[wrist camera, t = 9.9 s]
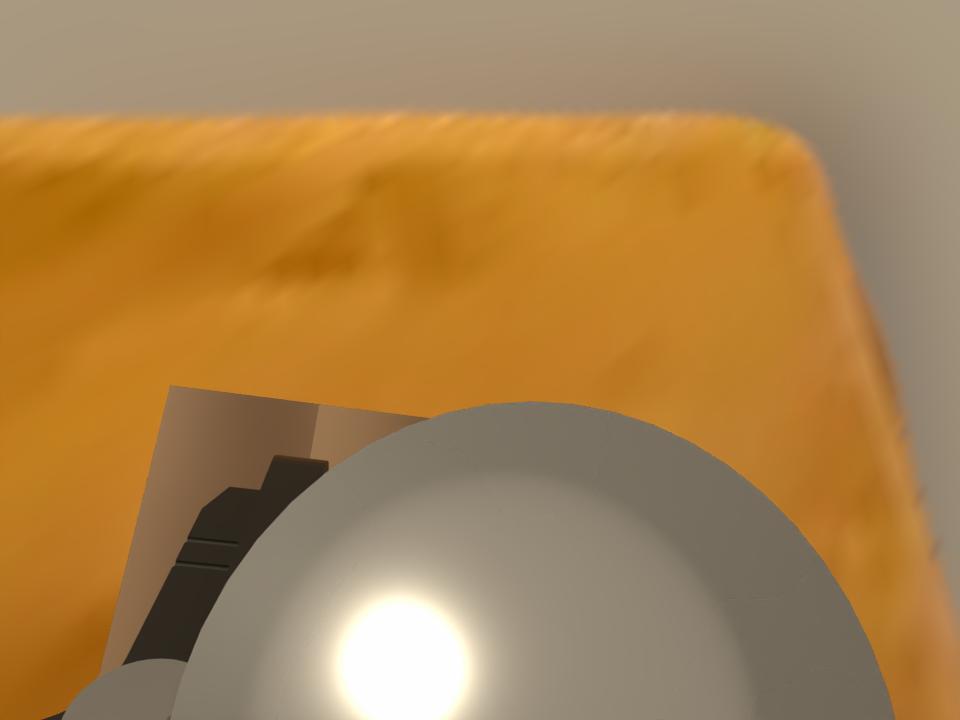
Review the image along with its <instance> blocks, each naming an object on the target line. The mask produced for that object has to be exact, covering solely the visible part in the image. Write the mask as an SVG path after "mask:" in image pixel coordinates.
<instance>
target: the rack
mask: <svg viewBox="0 0 960 720" xmlns="http://www.w3.org/2000/svg"><path fill="white" fill-rule="evenodd" d="M427 419H430V418H423V417H415V416H407V415H399V414H391V413H384V412H376V411H368V410H360V409H352V408H344V407H336V406H329V405H321V404H313V403H305V402H297V401H289V400H282V399H274V398H266V397H258V396H250V395H242V394H234V393H227V392H219V391H211V390H203V389H195V388H187V387H180V386H172V385H170V389H169V393H168V397H167V401H166V405H165V409H164V413H163V418H162V422H161V426H160V430H159V434H158V438H157V442H156V446H155V450H154V454H153V458H152V462H151V466H150V470H149V475H148V479H147V483H146V487H145V491H144V495H143V499H142V503H141V507H140V511H139V515H138V519H137V523H136V527H135V532H134V536H133V540H132V544H131V548H130V552H129V556H128V560H127V564H126V568H125V572H124V576H123V580H122V584H121V589H120V593H119V597H118V601H117V605H116V609H115V613H114V617H113V621H112V625H111V629H110V633H109V637H108V642H107V646H106V650H105V654H104V658H103V662H102V666H101V670H100V674H99V677H100V676H102V675H104V674H106V673H107V672H109V671H111V670H113V669H116V668H118V667H120V666H122V664H123V662H124V661H125V659H126V657H127V655H128V653H129V651H130V649H131V647H132V645H133V643H134V641H135V639H136V637H137V635H138V634H139V632H140V630H141V628H142V626H143V624H144V622H145V620H146V618H147V616H148V614H149V612H150V610H151V608H152V606H153V604H154V602H155V600H156V598H157V596H158V594H159V592H160V590H161V588H162V586H163V584H164V582H165V580H166V578H167V576H168V574H169V572H170V570H171V568H172V566H175V562H176V558H177V556H178V554H179V552H180V550H181V549H182V547H183V545H184V543H185V542H187V537H188V535H189V533H190V531H191V529H192V527H193V525H194V523H195V521H196V519H197V517H198V515H199V513H200V511H201V509H202V508H203V507H204V506H206V505H207V504H208V503H209V502H211V501H212V500H213V499H214V498H216V497H217V496H218V495H220V494H221V493H222V492H223V491H225V490H226V489H227V488H228V487H238V488H247V489H256V490H260V489H261V486H262V484H263V481H264V479H265V476H266V474H267V471H268V469H269V466H270V464H271V461H272V459H273V457H274V456H275V455H284V456H292V457H301V458H310V459H318V460H327V461H328V462H329V470H330V469H332V468H333V467H335V466H336V465H338V464H340V463H341V462H343V461H344V460H346V459H347V458H349V457H350V456H352V455H353V454H355V453H356V452H358V451H359V450H361V449H362V448H364V447H365V446H367V445H369V444H371V443H373V442H375V441H378V440H380V439H382V438H384V437H386V436H388V435H390V434H392V433H394V432H396V431H398V430H400V429H402V428H404V427H406V426H409V425H412V424H415V423H418V422H421V421H424V420H427Z"/></svg>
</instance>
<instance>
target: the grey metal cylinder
mask: <svg viewBox="0 0 960 720" xmlns="http://www.w3.org/2000/svg"><path fill="white" fill-rule="evenodd" d="M170 720H895V717H894V713H893V709H892V705H891V701H890V697H889V693H888V690H887V688H886V685H885V682H884V679H883V677H882V674H881V671H880V669H879V666H878V663H877V661H876V658H875V655H874V653H873V650H872V647H871V644H870V642H869V640H868V638H867V636H866V634H865V632H864V630H863V628H862V626H861V624H860V622H859V620H858V618H857V616H856V614H855V612H854V610H853V608H852V606H851V604H850V602H849V600H848V599H847V597H846V595H845V594H844V592H843V591H842V589H841V588H840V586H839V584H838V583H837V581H836V580H835V578H834V577H833V575H832V573H831V572H830V570H829V569H828V567H827V566H826V564H825V563H824V561H823V560H822V558H821V557H820V556H819V555H818V553H817V552H816V551H815V550H814V548H813V547H812V546H811V545H810V543H809V542H808V541H807V540H806V538H805V537H804V536H803V535H802V533H801V532H800V531H799V530H798V528H797V527H796V526H795V525H794V524H793V523H792V522H791V521H790V520H789V519H788V518H787V517H786V516H785V515H784V514H783V513H782V512H781V511H780V510H779V509H778V508H777V507H776V506H775V505H774V504H773V503H772V502H771V501H770V500H769V499H768V498H767V497H766V496H765V495H764V494H763V493H762V492H761V491H760V490H759V489H757V488H756V487H755V486H754V485H752V484H751V483H750V482H749V481H747V480H746V479H745V478H744V477H742V476H741V475H740V474H738V473H737V472H736V471H735V470H733V469H732V468H731V467H730V466H728V465H727V464H725V463H724V462H722V461H720V460H719V459H717V458H716V457H714V456H712V455H711V454H709V453H708V452H706V451H704V450H703V449H701V448H700V447H698V446H696V445H695V444H693V443H691V442H689V441H687V440H685V439H683V438H681V437H679V436H676V435H674V434H672V433H670V432H668V431H666V430H663V429H661V428H659V427H657V426H655V425H653V424H649V423H646V422H643V421H640V420H637V419H634V418H631V417H628V416H625V415H622V414H619V413H616V412H612V411H607V410H601V409H596V408H591V407H586V406H580V405H575V404H564V403H548V402H516V403H501V404H488V405H483V406H478V407H473V408H468V409H463V410H458V411H453V412H448V413H445V414H442V415H439V416H436V417H433V418H430V419H427V420H424V421H421V422H418V423H415V424H412V425H409V426H406V427H404V428H402V429H400V430H398V431H396V432H394V433H392V434H390V435H388V436H386V437H384V438H382V439H380V440H378V441H375V442H373V443H371V444H369V445H367V446H365V447H364V448H362V449H361V450H359V451H358V452H356V453H355V454H353V455H352V456H350V457H349V458H347V459H346V460H344V461H343V462H341V463H340V464H338V465H336V466H335V467H333V468H332V469H330V470H329V471H327V472H326V473H325V474H324V475H323V476H322V477H320V478H319V479H318V480H317V481H316V482H314V483H313V484H312V485H311V486H310V487H309V488H307V489H306V490H305V491H304V492H303V493H302V494H300V495H299V496H298V497H297V498H296V499H295V500H293V501H292V502H291V503H290V504H289V505H288V506H287V507H286V509H285V510H284V511H283V512H282V513H281V514H280V515H279V516H278V517H277V518H276V519H275V521H274V522H273V523H272V524H271V525H270V526H269V527H268V528H267V529H266V530H265V531H264V533H263V534H262V535H261V536H260V537H259V538H258V539H257V541H256V542H255V543H254V545H253V546H252V548H251V549H250V550H249V552H248V553H247V554H246V556H245V557H244V559H243V560H242V561H241V563H240V564H239V566H238V567H237V568H236V570H235V571H234V573H233V574H232V575H231V577H230V578H229V580H228V581H227V583H226V585H225V587H224V588H223V590H222V592H221V594H220V596H219V597H218V599H217V601H216V603H215V605H214V607H213V608H212V610H211V612H210V614H209V616H208V617H207V619H206V621H205V623H204V625H203V627H202V629H201V631H200V634H199V636H198V639H197V641H196V643H195V646H194V648H193V651H192V653H191V656H190V658H189V661H188V663H187V666H186V668H185V671H184V673H183V676H182V678H181V681H180V685H179V688H178V692H177V696H176V699H175V703H174V707H173V710H172V714H171V718H170Z"/></svg>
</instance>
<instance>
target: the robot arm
mask: <svg viewBox="0 0 960 720" xmlns="http://www.w3.org/2000/svg"><path fill="white" fill-rule="evenodd" d="M327 471H329V462H328V461H327V460H318V459H310V458H301V457H292V456H284V455H275V456H274V457H273V459H272V461H271V464H270V466H269V469H268V471H267V474H266V476H265V479H264V481H263V484H262V486H261V489H260V490H256V489H247V488H238V487H228V488H227V489H226V490H225V491H223V492H222V493H221V494H220V495H218V496H217V497H216V498H214V499H213V500H212V501H211V502H209V503H208V504H207V505H206V506H204V507H203V508H202V509H201V511H200V513H199V515H198V517H197V519H196V521H195V523H194V525H193V527H192V529H191V531H190V533H189V535H188V537H187V542H185V543H184V545H183V547H182V549H181V550H180V552H179V554H178V556H177V558H176V562H175V566H172V568H171V570H170V572H169V574H168V576H167V578H166V580H165V582H164V584H163V586H162V588H161V590H160V592H159V594H158V596H157V598H156V600H155V602H154V604H153V606H152V608H151V610H150V612H149V614H148V616H147V618H146V620H145V622H144V624H143V626H142V628H141V630H140V632H139V634H138V635H137V637H136V639H135V641H134V643H133V645H132V647H131V649H130V651H129V653H128V655H127V657H126V659H125V661H124V662H123V664H122V666H120V667H118V668H116V669H113V670H111V671H109V672H107V673H106V674H104V675H102V676H100V677H99V678H97V679H96V680H94V681H93V682H92V683H90V684H89V685H88V686H86V687H85V688H84V689H83V690H82V691H81V692H80V693H79V694H78V695H77V696H76V697H75V699H74V700H73V701H72V703H71V704H70V705H69V706H68V708H67V710H66V711H64V712H62V713H59V714H57V715H54V716H51V717H48V718H45V719H42V720H170V718H171V714H172V710H173V707H174V703H175V699H176V696H177V692H178V688H179V685H180V681H181V678H182V676H183V673H184V671H185V668H186V666H187V663H188V661H189V658H190V656H191V653H192V651H193V648H194V646H195V643H196V641H197V639H198V636H199V634H200V631H201V629H202V627H203V625H204V623H205V621H206V619H207V617H208V616H209V614H210V612H211V610H212V608H213V607H214V605H215V603H216V601H217V599H218V597H219V596H220V594H221V592H222V590H223V588H224V587H225V585H226V583H227V581H228V580H229V578H230V577H231V575H232V574H233V573H234V571H235V570H236V568H237V567H238V566H239V564H240V563H241V561H242V560H243V559H244V557H245V556H246V554H247V553H248V552H249V550H250V549H251V548H252V546H253V545H254V543H255V542H256V541H257V539H258V538H259V537H260V536H261V535H262V534H263V533H264V531H265V530H266V529H267V528H268V527H269V526H270V525H271V524H272V523H273V522H274V521H275V519H276V518H277V517H278V516H279V515H280V514H281V513H282V512H283V511H284V510H285V509H286V507H287V506H288V505H289V504H290V503H291V502H292V501H293V500H295V499H296V498H297V497H298V496H299V495H300V494H302V493H303V492H304V491H305V490H306V489H307V488H309V487H310V486H311V485H312V484H313V483H314V482H316V481H317V480H318V479H319V478H320V477H322V476H323V475H324V474H325V473H326V472H327Z"/></svg>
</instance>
